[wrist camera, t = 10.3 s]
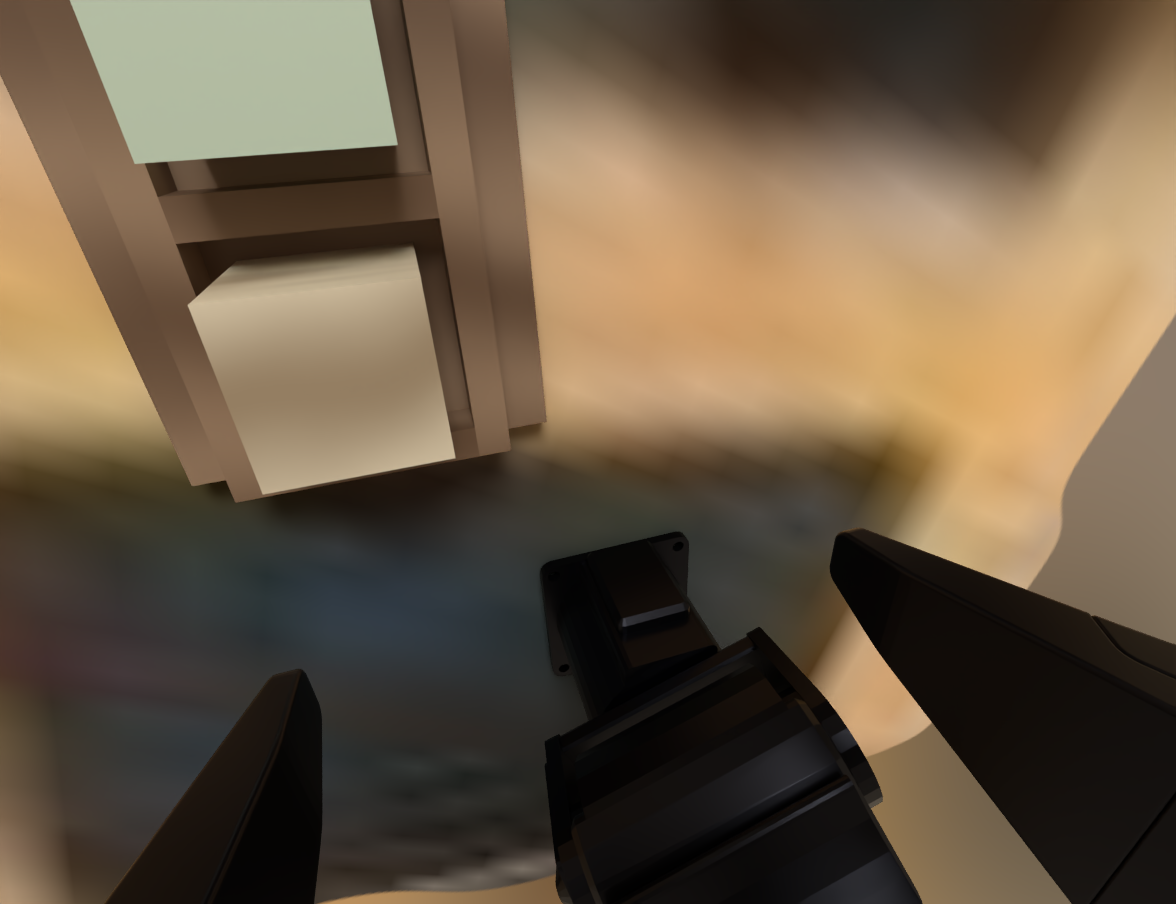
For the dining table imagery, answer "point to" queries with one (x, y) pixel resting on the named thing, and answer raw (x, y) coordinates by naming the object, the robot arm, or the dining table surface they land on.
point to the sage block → (239, 75)
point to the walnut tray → (304, 218)
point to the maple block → (326, 364)
